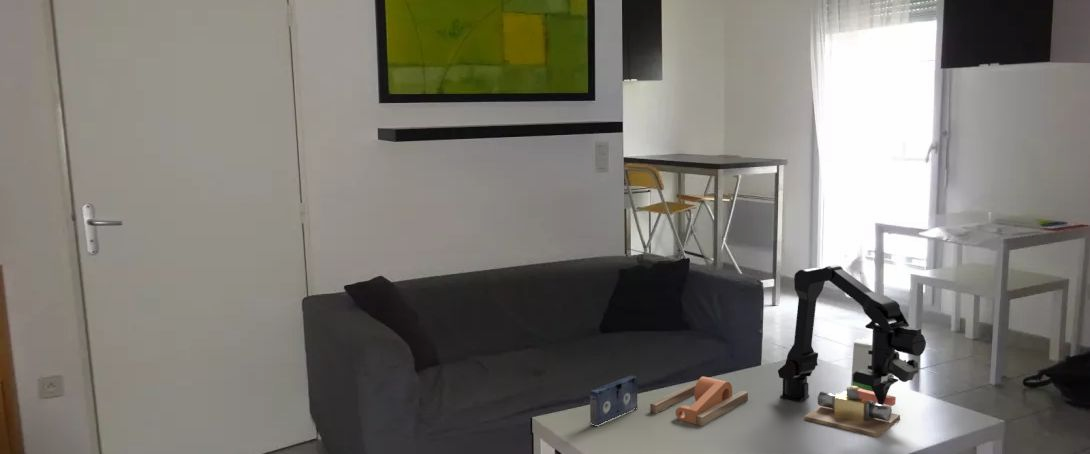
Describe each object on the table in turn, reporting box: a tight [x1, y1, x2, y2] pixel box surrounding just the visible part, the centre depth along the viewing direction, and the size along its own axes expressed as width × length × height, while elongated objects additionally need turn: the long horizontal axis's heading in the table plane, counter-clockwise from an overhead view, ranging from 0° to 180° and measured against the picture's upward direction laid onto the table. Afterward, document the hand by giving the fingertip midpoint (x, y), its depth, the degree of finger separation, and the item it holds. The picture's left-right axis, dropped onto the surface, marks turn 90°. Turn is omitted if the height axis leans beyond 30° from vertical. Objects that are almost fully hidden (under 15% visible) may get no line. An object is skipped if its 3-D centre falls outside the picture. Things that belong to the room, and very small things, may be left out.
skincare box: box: [850, 337, 873, 392], centre depth 248 cm, size 8×7×16 cm
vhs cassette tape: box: [589, 374, 638, 425], centre depth 231 cm, size 18×3×10 cm, turn 134°
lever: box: [846, 385, 897, 407], centre depth 223 cm, size 13×4×3 cm, turn 43°
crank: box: [675, 375, 733, 425], centre depth 235 cm, size 20×8×8 cm, turn 138°
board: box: [803, 405, 901, 438], centre depth 227 cm, size 20×17×1 cm
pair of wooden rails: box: [649, 380, 749, 427], centre depth 239 cm, size 17×26×2 cm, turn 138°
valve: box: [817, 390, 893, 421], centre depth 227 cm, size 19×7×5 cm, turn 48°
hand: (881, 404), depth 219 cm, fingers closed
